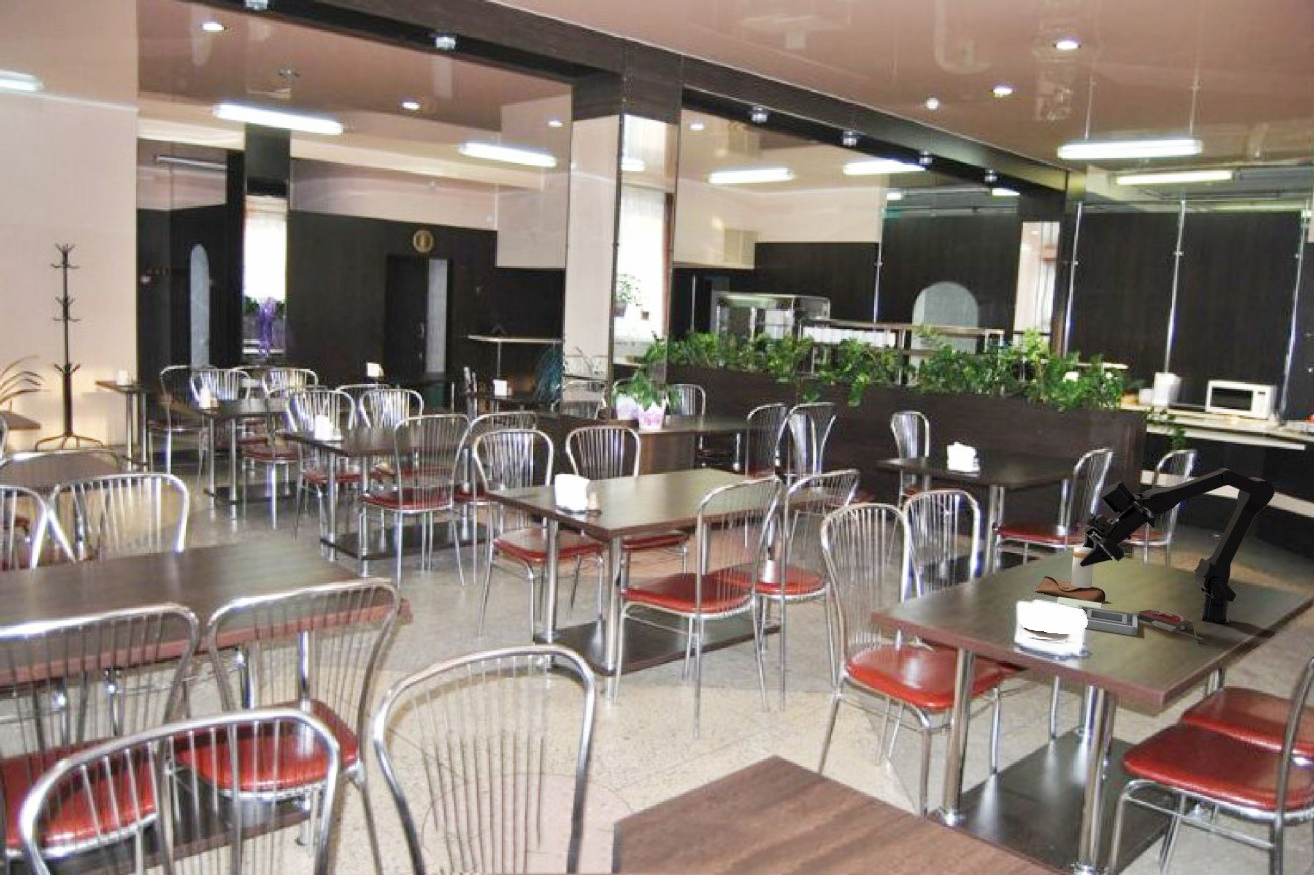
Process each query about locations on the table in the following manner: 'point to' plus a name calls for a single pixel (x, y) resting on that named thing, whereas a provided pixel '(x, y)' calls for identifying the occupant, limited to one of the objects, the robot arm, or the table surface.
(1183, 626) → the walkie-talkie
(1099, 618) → the grey square tray
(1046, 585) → the sunglasses case
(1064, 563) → the table surface
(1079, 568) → the white banded cylinder
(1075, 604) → the mat
